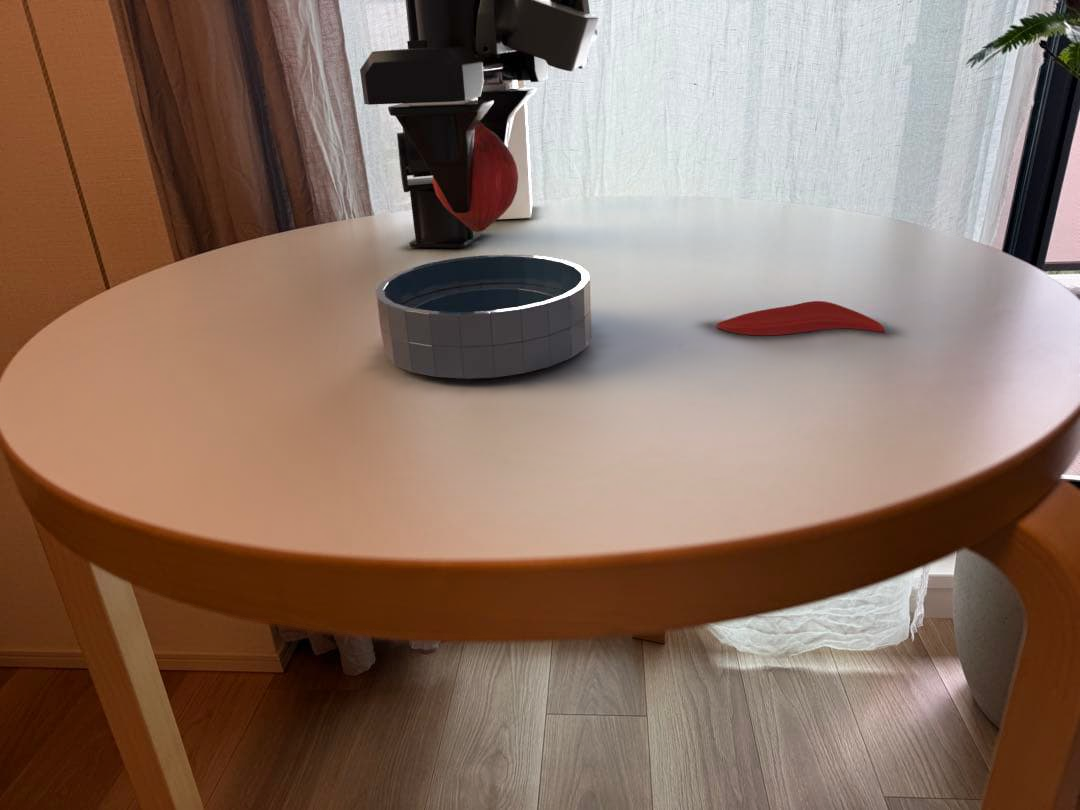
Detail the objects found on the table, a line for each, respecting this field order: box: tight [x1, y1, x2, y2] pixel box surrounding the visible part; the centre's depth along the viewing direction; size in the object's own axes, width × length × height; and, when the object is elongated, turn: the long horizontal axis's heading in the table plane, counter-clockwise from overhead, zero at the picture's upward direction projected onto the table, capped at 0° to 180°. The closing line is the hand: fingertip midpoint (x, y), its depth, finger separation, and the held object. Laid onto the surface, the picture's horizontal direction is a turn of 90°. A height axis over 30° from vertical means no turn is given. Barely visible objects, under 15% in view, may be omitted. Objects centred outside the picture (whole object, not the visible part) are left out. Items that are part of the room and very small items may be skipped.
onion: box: [432, 122, 518, 232], centre depth 56 cm, size 6×6×8 cm
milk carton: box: [497, 80, 533, 220], centre depth 102 cm, size 7×7×19 cm
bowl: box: [374, 254, 592, 380], centre depth 60 cm, size 15×15×5 cm
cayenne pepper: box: [715, 300, 886, 336], centre depth 61 cm, size 12×5×2 cm, turn 71°
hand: (477, 203), depth 57 cm, fingers closed on onion, 6 cm apart
